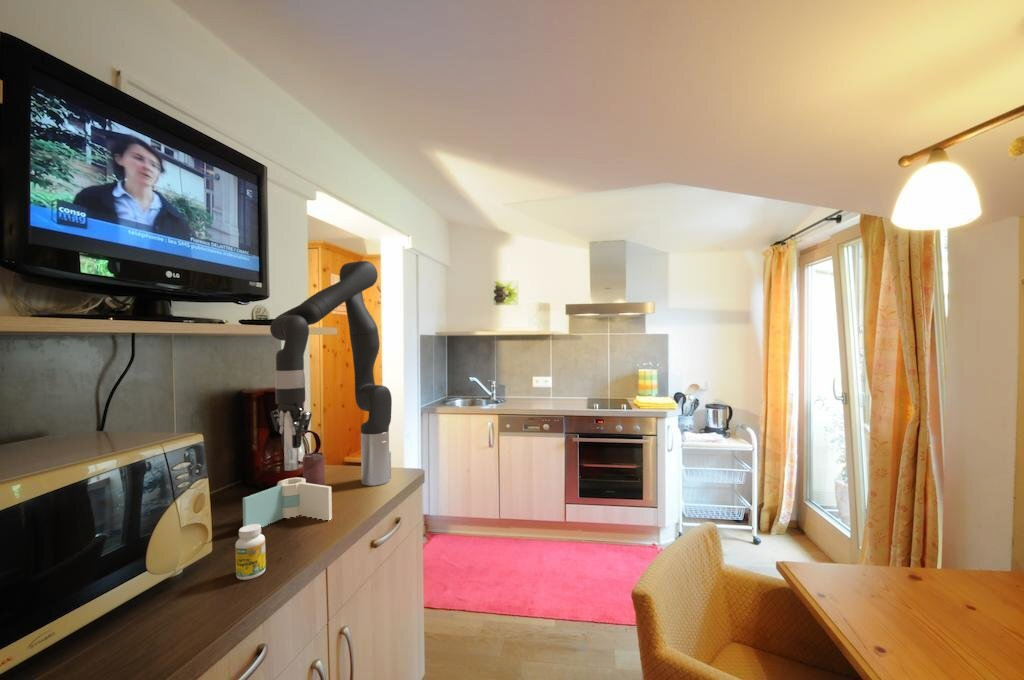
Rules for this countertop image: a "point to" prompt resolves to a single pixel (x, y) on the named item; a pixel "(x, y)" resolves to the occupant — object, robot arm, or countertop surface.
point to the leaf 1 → (267, 506)
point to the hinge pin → (289, 447)
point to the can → (314, 468)
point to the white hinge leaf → (307, 499)
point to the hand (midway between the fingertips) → (291, 446)
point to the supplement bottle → (250, 552)
